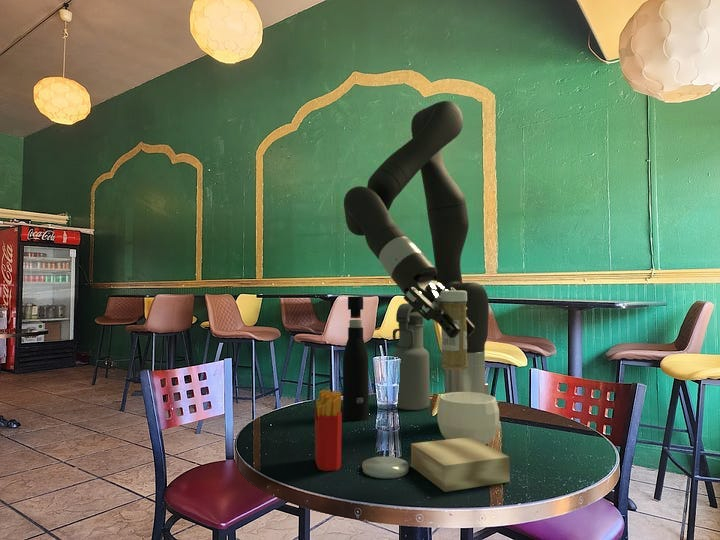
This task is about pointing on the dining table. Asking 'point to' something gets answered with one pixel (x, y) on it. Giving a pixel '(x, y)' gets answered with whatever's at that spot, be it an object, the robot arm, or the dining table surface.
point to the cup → (468, 416)
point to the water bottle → (412, 360)
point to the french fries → (328, 430)
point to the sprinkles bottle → (457, 347)
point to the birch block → (460, 463)
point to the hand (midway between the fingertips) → (463, 333)
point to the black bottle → (355, 367)
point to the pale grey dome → (385, 467)
